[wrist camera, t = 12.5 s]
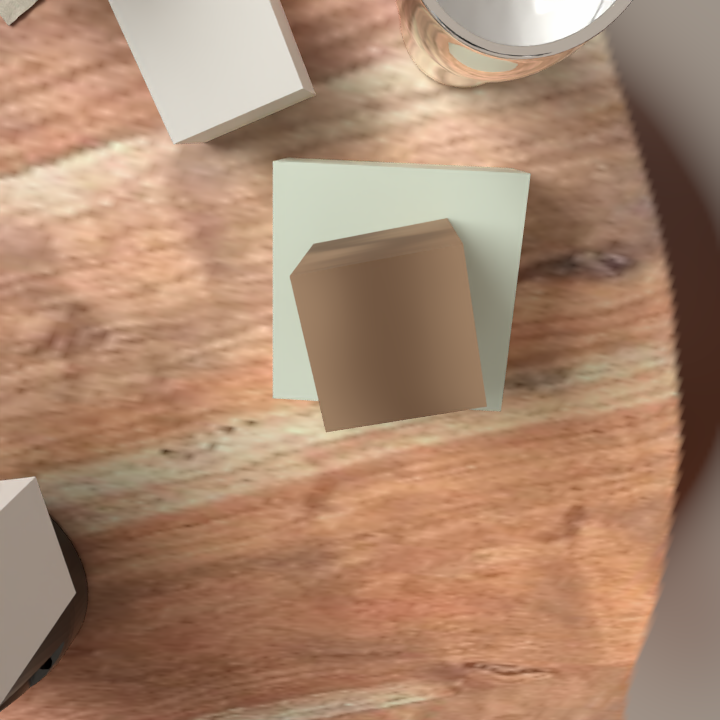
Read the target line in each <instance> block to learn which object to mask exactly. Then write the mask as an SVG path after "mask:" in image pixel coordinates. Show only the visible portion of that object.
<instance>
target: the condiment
mask: <svg viewBox="0 0 720 720" xmlns="http://www.w3.org/2000/svg"><path fill="white" fill-rule="evenodd" d="M36 1H37V0H0V15H1V17H2V18H3V19H4V20H5V22H6V23H7V25H8V26H9V25H10V24H11V23H12V22H14V21H15V20H16V19H17V18H18V17H19V16H20V15H21V14H22V13H24V12H25V11H26V10H28V9H29V8H30V7H31V6H32V5H33V4H34V3H35V2H36Z"/></svg>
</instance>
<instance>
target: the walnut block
mask: <svg viewBox="0 0 720 720" xmlns="http://www.w3.org/2000/svg"><path fill="white" fill-rule="evenodd" d="M290 281H291V285H292V289H293V293H294V298H295V302H296V306H297V310H298V315H299V319H300V323H301V328H302V332H303V336H304V340H305V345H306V349H307V353H308V357H309V362H310V366H311V370H312V374H313V379H314V383H315V387H316V391H317V396H318V400H319V404H320V408H321V413H322V417H323V421H324V426H325V430H326V432H330V431H337V430H343V429H349V428H356V427H362V426H368V425H374V424H381V423H387V422H393V421H399V420H406V419H412V418H418V417H425V416H431V415H437V414H443V413H450V412H456V411H462V410H469V409H475V408H481V407H487V403H486V397H485V390H484V383H483V376H482V369H481V362H480V356H479V349H478V342H477V335H476V328H475V321H474V315H473V308H472V301H471V294H470V287H469V280H468V274H467V267H466V260H465V253H464V246H463V243H462V241H461V240H460V238H459V236H458V235H457V233H456V231H455V230H454V228H453V227H452V225H451V223H450V222H449V220H448V219H447V218H445V219H440V220H435V221H429V222H424V223H419V224H414V225H409V226H403V227H398V228H393V229H388V230H382V231H377V232H372V233H367V234H362V235H357V236H351V237H346V238H341V239H336V240H331V241H325V242H320V243H315V244H313V245H312V246H311V248H310V249H309V250H308V252H307V253H306V254H305V256H304V257H303V259H302V260H301V261H300V263H299V264H298V265H297V267H296V268H295V269H294V271H293V272H292V274H291V275H290Z"/></svg>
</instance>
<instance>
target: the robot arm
mask: <svg viewBox="0 0 720 720" xmlns="http://www.w3.org/2000/svg"><path fill="white" fill-rule="evenodd" d="M87 601H88V589H87V581H86V577H85V573H84V569H83V566H82V563H81V561H80V558H79V556H78V554H77V552H76V550H75V549H74V547H73V545H72V543H71V542H70V540H69V539H68V537H67V536H66V535H65V533H64V532H63V531H62V530H61V528H60V527H59V526H58V525H57V524H56V523H55V522H54V521H53V520H52V519H51V518H50V516H49V514H48V511H47V508H46V505H45V502H44V499H43V496H42V493H41V490H40V488H39V485H38V482H37V479H36V477H27V478H19V479H10V480H2V481H0V712H1V711H2V710H3V709H5V708H6V707H7V706H8V705H10V704H11V703H12V702H13V701H15V700H16V699H17V698H18V697H20V696H21V695H22V694H23V693H24V692H26V691H27V690H28V689H29V688H30V687H31V686H33V685H34V684H36V683H37V682H38V681H40V680H41V679H42V678H43V677H45V676H46V675H47V674H48V673H49V672H50V671H51V670H52V669H53V668H54V667H55V666H56V665H57V663H58V662H59V661H60V660H61V658H62V657H63V655H64V654H65V652H66V651H67V649H68V648H69V646H70V644H71V643H72V641H73V640H74V638H75V636H76V635H77V633H78V631H79V630H80V628H81V626H82V623H83V621H84V618H85V614H86V609H87Z"/></svg>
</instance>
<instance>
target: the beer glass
mask: <svg viewBox="0 0 720 720" xmlns="http://www.w3.org/2000/svg"><path fill="white" fill-rule="evenodd" d="M632 1H633V0H395V3H396V6H397V9H398V12H399V15H400V28H401V34H402V38H403V41H404V44H405V47H406V49H407V51H408V53H409V55H410V57H411V58H412V60H413V61H414V63H415V64H416V65H417V67H418V68H419V69H420V70H421V71H422V72H423V73H425V74H426V75H427V76H428V77H430V78H431V79H433V80H435V81H437V82H439V83H441V84H444V85H448V86H452V87H461V88H468V87H476V86H480V85H483V84H486V83H488V82H504V81H510V80H515V79H519V78H523V77H527V76H530V75H533V74H536V73H538V72H540V71H543V70H545V69H547V68H549V67H551V66H553V65H554V64H556V63H558V62H559V61H561V60H563V59H565V58H566V57H568V56H569V55H571V54H572V53H573V52H575V51H576V50H577V49H579V48H580V47H581V46H583V45H584V44H585V43H586V42H588V41H589V40H590V39H592V38H593V37H595V36H596V35H598V34H599V33H600V32H602V31H603V30H604V29H606V28H607V27H608V26H609V25H610V24H611V23H612V22H614V21H615V20H616V19H617V18H618V17H619V16H620V15H621V14H622V13H623V12H624V10H625V9H626V8H627V7H628V6H629V5H630V3H631V2H632Z"/></svg>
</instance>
